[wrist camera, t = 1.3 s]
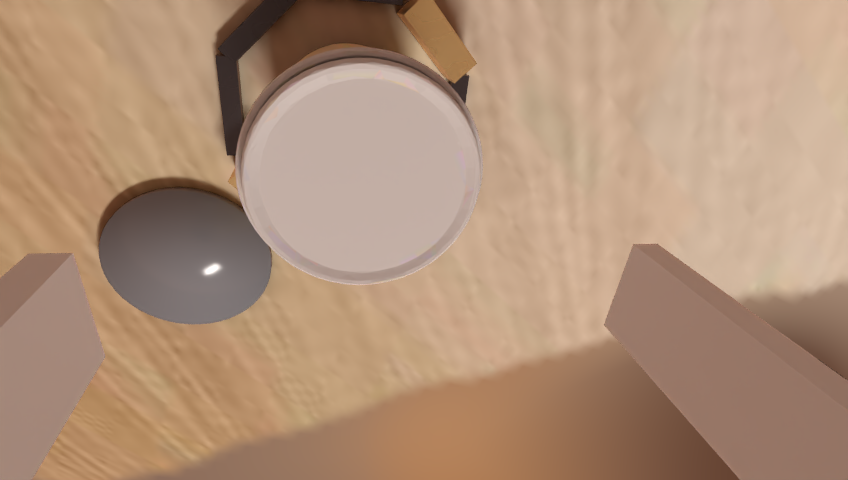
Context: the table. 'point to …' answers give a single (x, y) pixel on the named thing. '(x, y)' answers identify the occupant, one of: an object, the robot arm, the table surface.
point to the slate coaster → (185, 256)
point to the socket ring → (415, 13)
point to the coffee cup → (358, 165)
